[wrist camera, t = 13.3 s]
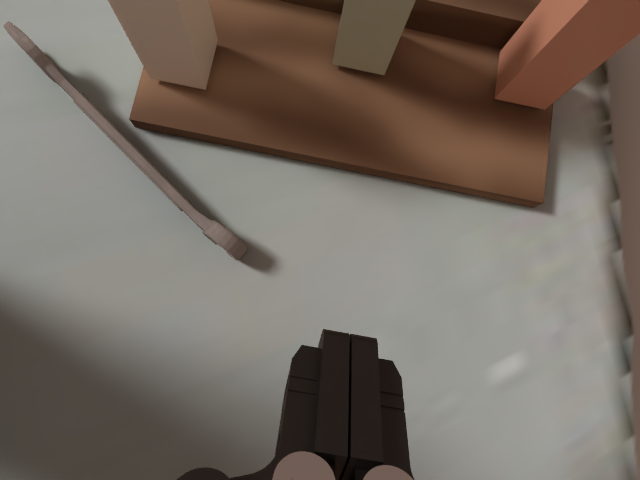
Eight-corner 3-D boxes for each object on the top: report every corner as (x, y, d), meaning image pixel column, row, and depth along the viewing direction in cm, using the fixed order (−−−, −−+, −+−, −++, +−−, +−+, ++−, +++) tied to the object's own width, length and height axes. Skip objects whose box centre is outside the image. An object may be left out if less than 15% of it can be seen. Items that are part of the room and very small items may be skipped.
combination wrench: (247, 245, 26) (8, 3, 27) (231, 260, 26) (-10, 16, 27) (250, 253, 30) (39, 40, 31) (236, 267, 30) (23, 52, 31)
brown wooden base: (533, 207, 32) (575, 188, 27) (135, 127, 30) (110, 93, 26) (550, 33, 34) (591, -10, 30) (182, -49, 33) (167, -106, 28)
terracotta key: (544, 109, 31) (685, -4, 20) (494, 98, 31) (608, -21, 20) (549, 62, 32) (687, -71, 21) (499, 51, 32) (613, -89, 21)
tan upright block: (205, 89, 29) (161, -45, 19) (150, 78, 29) (73, -65, 18) (217, 40, 30) (182, -118, 19) (163, 29, 30) (96, -137, 19)
